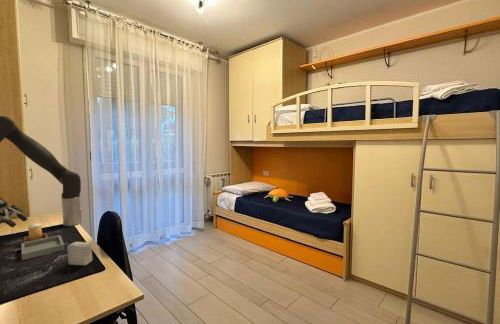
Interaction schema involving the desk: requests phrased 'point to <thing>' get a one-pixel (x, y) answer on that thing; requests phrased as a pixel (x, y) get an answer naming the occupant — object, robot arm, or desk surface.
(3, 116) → the robot arm
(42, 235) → the holder
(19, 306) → the desk surface
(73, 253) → the medicine box
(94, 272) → the desk surface
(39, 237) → the pill bottle
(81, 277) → the desk surface
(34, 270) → the desk surface
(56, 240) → the tray
